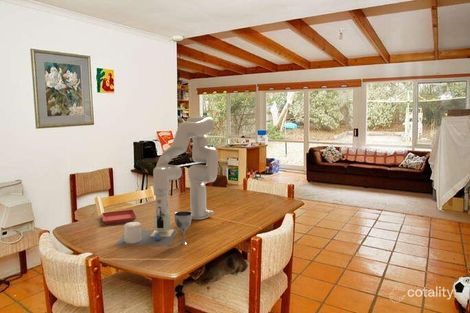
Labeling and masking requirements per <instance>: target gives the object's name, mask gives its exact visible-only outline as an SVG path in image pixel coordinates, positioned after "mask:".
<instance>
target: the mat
mask: <svg viewBox="0 0 470 313" xmlns="http://www.w3.org/2000/svg"><path fill="white" fill-rule="evenodd" d="M141 232H142V239H141V241H140V242H136V243H126V242H124V234H123V235H122V236H121V237H120V238H119V239H118V240H117V241H116V242H115V243H114V246H170V245H171V244H172V242H173V240H174V238H175V237H176V234H177V232H178V230H175V229H171V228H170V229H169V230H168V231H165V232H157V231H155V230H154V229H153V230H151V229H150V230H149V229H148V230H147V229H146V230H145V229H144V230H142V229H141ZM156 234H160V235H161V239H160V240H159V241H157V240H155V238H154V236H155V235H156Z"/></svg>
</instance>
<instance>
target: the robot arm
mask: <svg viewBox="0 0 470 313" xmlns="http://www.w3.org/2000/svg"><path fill="white" fill-rule="evenodd" d="M214 127H215V121H214V119H213V118H212V117H210V116H190V117H188V118H187V119H186V121H184V122H183V121H182V122H180V123H179V124H178V126H177V130H176V132H175V135H174V137H173V138H174V139H173V140H172V143H171V145H170V146H169V147H167V149H166V150H164V151H163V152H162V153H161V154H160V155H159V158H158V160H157V162H156V166H155V167H154V168H153V171H152V173H153V174H152V175H153V195H154V196H155V214H156V215H157V228H163V227H164V221H163V214H164V215H166V214H167V213H169V211H170V204H169V203H170V202H169V201H170V200H169V195H170V181H176V180H178V179H180V178H181V177H182V175H183V170H182V168H181V167H180V166H179V165H176V164H175V165H174V164H169V162H171V160H173V158H175V157H178V156H179V155H182V154H185V153H186V152H187V150H188V147H189V144H190V141H191V138H192V149H191V150H192V154H191V155H192V156H191V158H192V161H193V162H196V163H201V164H193V165H191V166H189V168H188V171H187V176H188V178H189V180H188V181H189V195H190V198H189V200H190V201H189V202H190V203H189V204H190V206H189V207H190V212H191V213H192V220H194V221H195V220H196V221H198V220H206V219H207V218H209V216H210V215H214V210H212V209H211V210H208V208H207V187H206V184H205V183H214V182H215V181H216V180H217V177H218V169H219V152H218V150H217V148H216V147H211V146H210V147H209V146H208V133H210V132H212V131H213V129H214ZM204 164H206V165H204ZM160 213H162V214H160ZM161 216H162V217H161Z"/></svg>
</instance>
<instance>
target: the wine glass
mask: <svg viewBox="0 0 470 313" xmlns="http://www.w3.org/2000/svg"><path fill="white" fill-rule="evenodd" d="M192 220H193V219H192V213H191V211H189V210H182V211H181V210H180V211H176V212H175V213H174V221H175V226H176V228H178V229H179V230H180V231H181V235H182V241H180V242H179V245H187V244H188V242H187V241H185V235H186V234H185V233H186V231H187V230H188V229H189V228H190V226H191V223H192Z"/></svg>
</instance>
